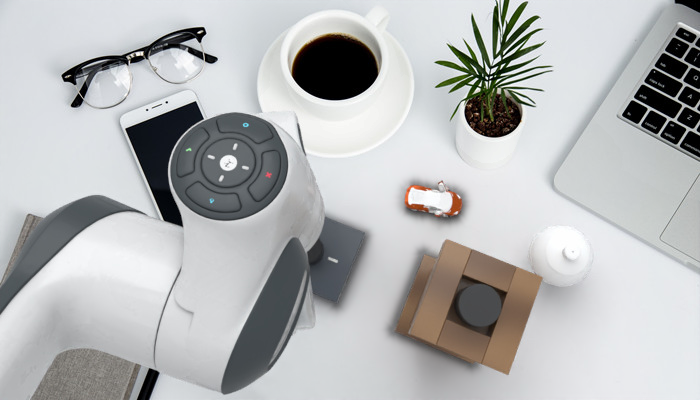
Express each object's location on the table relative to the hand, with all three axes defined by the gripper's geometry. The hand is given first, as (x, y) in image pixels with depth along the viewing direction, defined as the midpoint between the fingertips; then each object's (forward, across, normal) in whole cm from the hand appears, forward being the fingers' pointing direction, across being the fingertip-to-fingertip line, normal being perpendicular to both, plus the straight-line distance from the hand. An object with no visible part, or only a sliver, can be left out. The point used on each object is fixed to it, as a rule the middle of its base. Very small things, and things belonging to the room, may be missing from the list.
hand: (291, 233), depth 65 cm
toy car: (+20, +5, -18) cm, 28 cm away
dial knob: (+17, 0, 0) cm, 17 cm away
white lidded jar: (+20, -6, -32) cm, 38 cm away
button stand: (+20, -10, -17) cm, 29 cm away
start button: (-2, -10, -17) cm, 20 cm away
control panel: (+20, 0, 0) cm, 21 cm away
